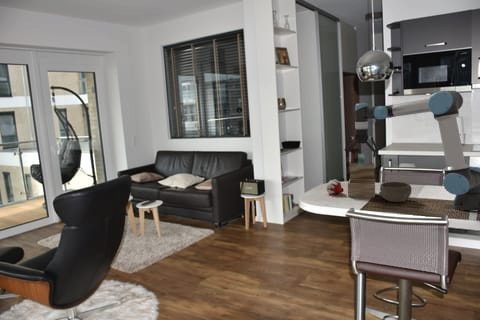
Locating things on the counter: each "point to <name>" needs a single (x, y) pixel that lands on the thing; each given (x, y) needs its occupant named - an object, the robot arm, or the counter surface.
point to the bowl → (395, 191)
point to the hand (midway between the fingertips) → (361, 162)
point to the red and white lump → (334, 187)
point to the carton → (361, 188)
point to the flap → (361, 169)
